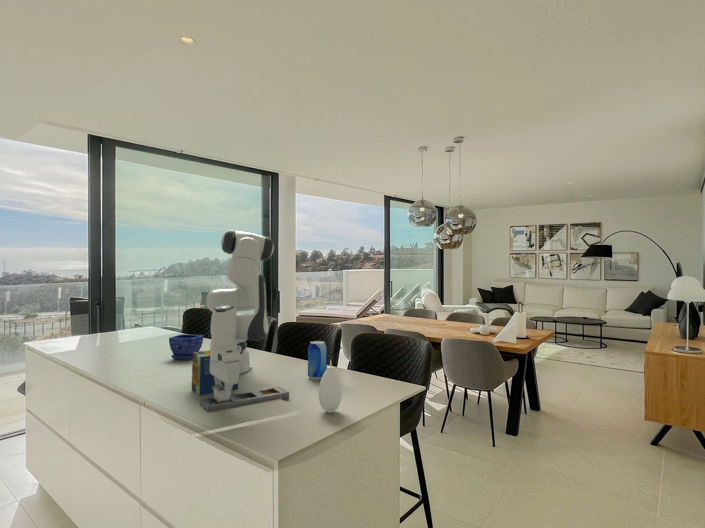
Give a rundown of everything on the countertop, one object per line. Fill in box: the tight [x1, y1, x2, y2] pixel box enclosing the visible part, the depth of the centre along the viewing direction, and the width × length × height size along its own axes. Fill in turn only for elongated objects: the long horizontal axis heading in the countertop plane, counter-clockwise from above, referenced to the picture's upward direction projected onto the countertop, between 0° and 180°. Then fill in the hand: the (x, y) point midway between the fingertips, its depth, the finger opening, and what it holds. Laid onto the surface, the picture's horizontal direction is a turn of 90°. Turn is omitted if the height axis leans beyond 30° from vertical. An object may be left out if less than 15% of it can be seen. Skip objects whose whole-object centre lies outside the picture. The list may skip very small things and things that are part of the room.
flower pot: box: [168, 333, 204, 361], centre depth 220 cm, size 13×13×12 cm
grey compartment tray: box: [199, 385, 290, 412], centre depth 148 cm, size 9×30×2 cm, turn 126°
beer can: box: [307, 340, 328, 381], centre depth 184 cm, size 8×8×16 cm
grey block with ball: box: [213, 386, 230, 404], centre depth 143 cm, size 4×4×6 cm
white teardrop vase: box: [318, 359, 343, 414], centre depth 140 cm, size 8×8×18 cm
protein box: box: [191, 349, 239, 396], centre depth 162 cm, size 10×15×16 cm
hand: (223, 392), depth 143 cm, fingers open, 8 cm apart
